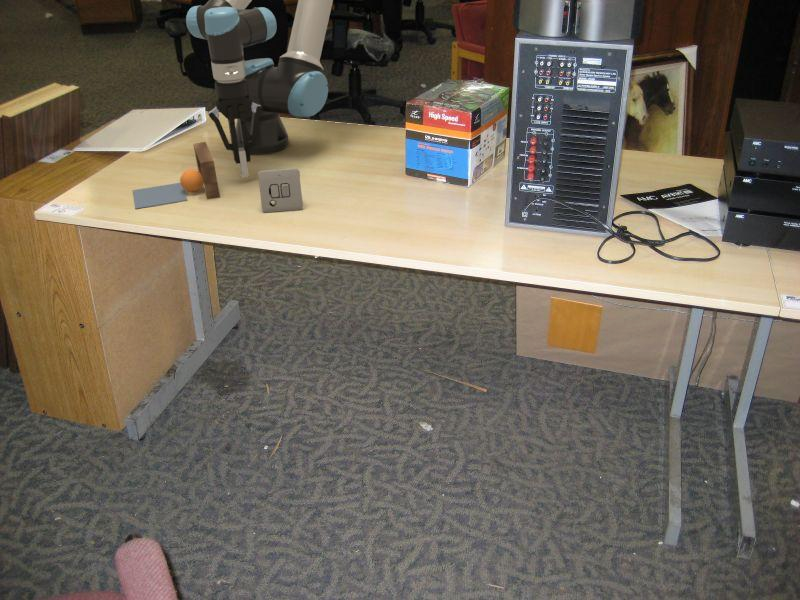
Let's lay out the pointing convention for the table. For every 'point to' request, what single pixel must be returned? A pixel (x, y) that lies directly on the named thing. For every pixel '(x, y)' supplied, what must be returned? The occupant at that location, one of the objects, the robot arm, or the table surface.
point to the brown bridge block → (207, 169)
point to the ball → (191, 180)
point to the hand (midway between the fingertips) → (244, 174)
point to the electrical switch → (280, 190)
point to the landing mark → (159, 195)
